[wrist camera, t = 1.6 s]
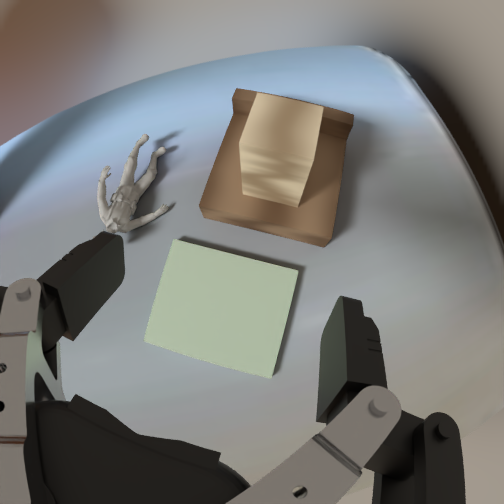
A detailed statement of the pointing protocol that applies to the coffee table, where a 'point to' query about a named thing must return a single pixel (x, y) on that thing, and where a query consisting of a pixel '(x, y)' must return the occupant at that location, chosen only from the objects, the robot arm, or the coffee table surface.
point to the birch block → (278, 148)
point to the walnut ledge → (272, 213)
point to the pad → (221, 308)
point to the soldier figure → (128, 193)
